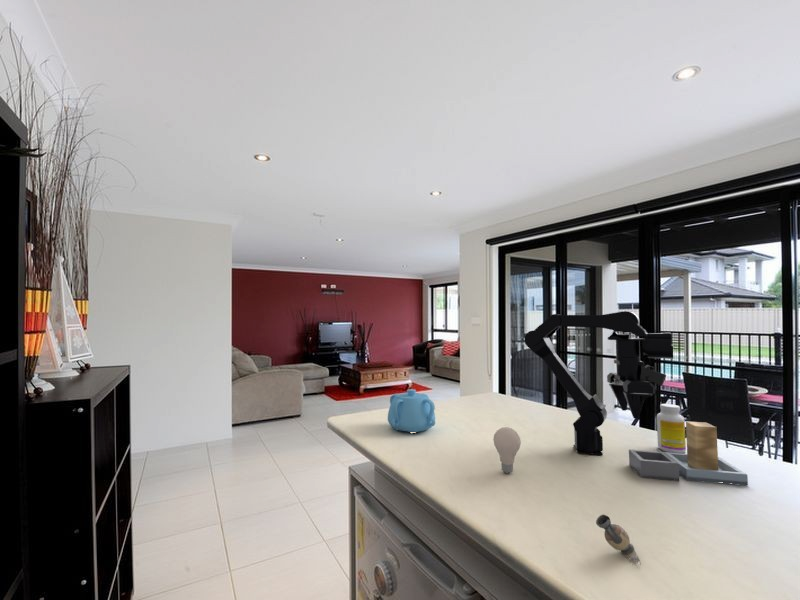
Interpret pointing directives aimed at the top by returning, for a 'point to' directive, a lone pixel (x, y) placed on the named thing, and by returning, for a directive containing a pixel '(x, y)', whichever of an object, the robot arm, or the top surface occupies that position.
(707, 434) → the peg
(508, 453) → the light bulb
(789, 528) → the top surface
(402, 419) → the decorative pot
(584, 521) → the top surface
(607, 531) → the vase
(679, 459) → the tray
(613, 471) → the top surface
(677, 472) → the socket
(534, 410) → the top surface
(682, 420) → the supplement bottle
